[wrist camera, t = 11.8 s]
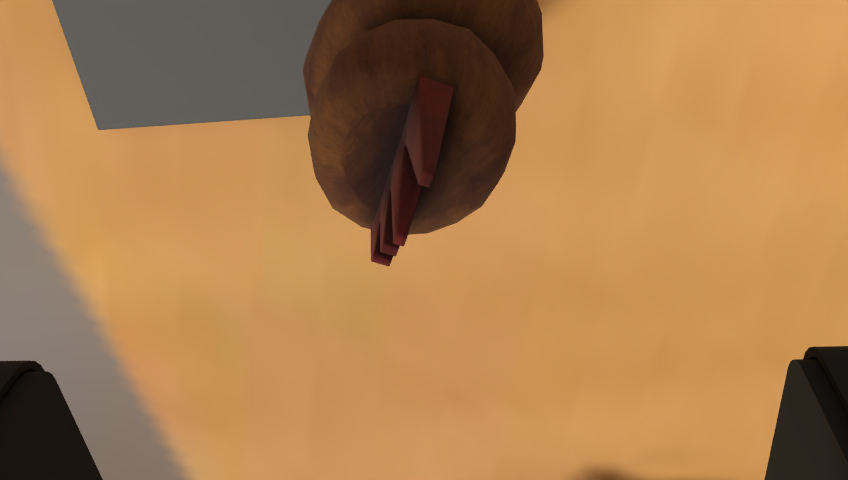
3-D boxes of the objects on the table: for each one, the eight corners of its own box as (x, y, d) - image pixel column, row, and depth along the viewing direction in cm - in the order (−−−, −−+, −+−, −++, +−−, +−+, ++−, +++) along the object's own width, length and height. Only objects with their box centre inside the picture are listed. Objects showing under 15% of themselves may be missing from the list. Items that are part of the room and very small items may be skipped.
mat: (494, -116, 24) (494, -114, 23) (503, 97, 28) (503, 101, 27) (33, -72, 25) (28, -69, 25) (102, 125, 29) (98, 130, 29)
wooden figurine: (427, -139, 23) (380, 5, 11) (564, -12, 25) (662, 240, 12) (299, 30, 26) (143, 299, 14) (429, 132, 28) (398, 452, 15)
